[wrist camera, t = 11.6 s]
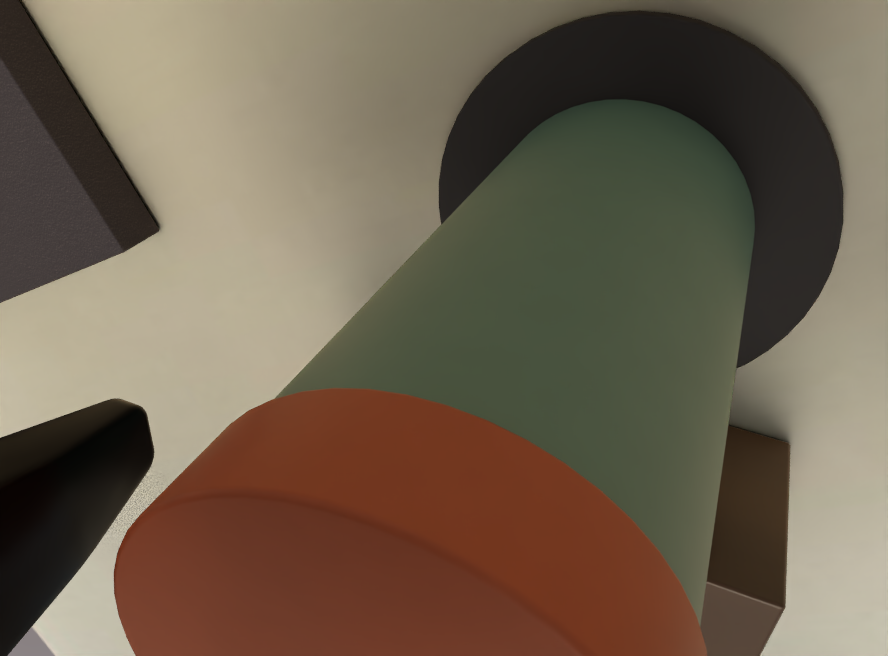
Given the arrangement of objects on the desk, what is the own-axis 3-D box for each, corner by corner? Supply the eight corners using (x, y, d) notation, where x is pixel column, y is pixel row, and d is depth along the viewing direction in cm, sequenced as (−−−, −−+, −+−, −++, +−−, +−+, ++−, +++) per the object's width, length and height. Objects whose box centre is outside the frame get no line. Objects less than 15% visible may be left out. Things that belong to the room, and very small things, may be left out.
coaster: (765, 422, 18) (765, 432, 18) (433, 326, 20) (427, 333, 20) (918, 50, 13) (920, 54, 13) (459, -20, 16) (452, -16, 15)
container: (614, 750, 16) (607, 1445, 4) (363, 643, 18) (-160, 923, 6) (763, 210, 18) (1054, -381, 6) (524, 158, 19) (382, -386, 8)
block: (748, 539, 20) (733, 709, 16) (404, 425, 23) (320, 546, 19) (792, 442, 18) (787, 607, 14) (409, 330, 21) (316, 443, 17)
